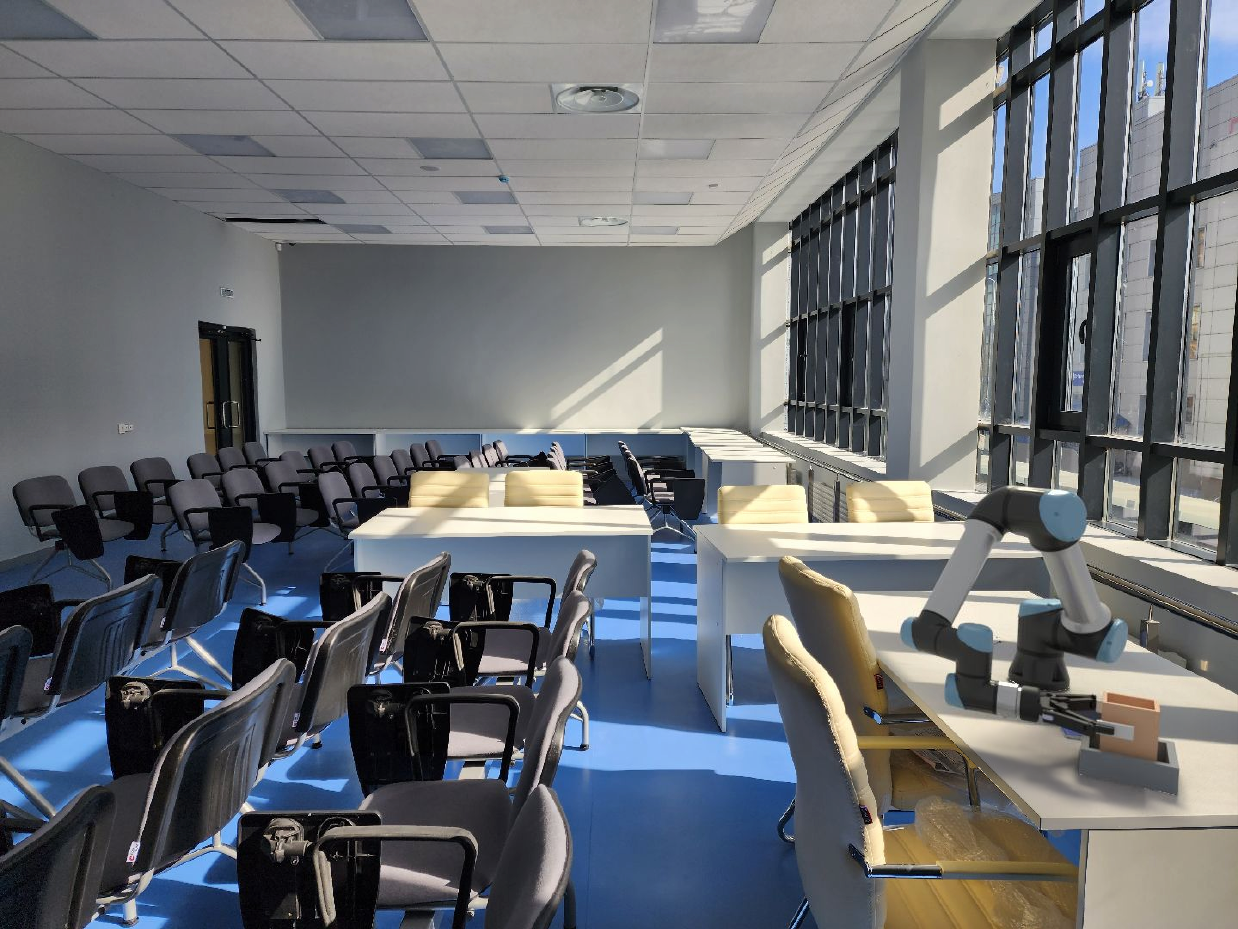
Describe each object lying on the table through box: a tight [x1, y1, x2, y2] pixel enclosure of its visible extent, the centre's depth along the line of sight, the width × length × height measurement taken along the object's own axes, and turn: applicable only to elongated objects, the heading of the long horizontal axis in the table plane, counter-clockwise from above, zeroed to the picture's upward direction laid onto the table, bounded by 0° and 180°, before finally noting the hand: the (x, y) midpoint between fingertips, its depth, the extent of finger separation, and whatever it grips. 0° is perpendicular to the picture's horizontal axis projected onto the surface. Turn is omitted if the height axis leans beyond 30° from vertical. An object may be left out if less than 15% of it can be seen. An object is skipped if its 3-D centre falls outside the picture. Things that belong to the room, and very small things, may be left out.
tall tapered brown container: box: [1099, 690, 1161, 761], centre depth 171 cm, size 8×10×14 cm
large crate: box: [1078, 734, 1180, 796], centre depth 172 cm, size 15×17×6 cm
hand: (1132, 722), depth 171 cm, fingers open, 13 cm apart
